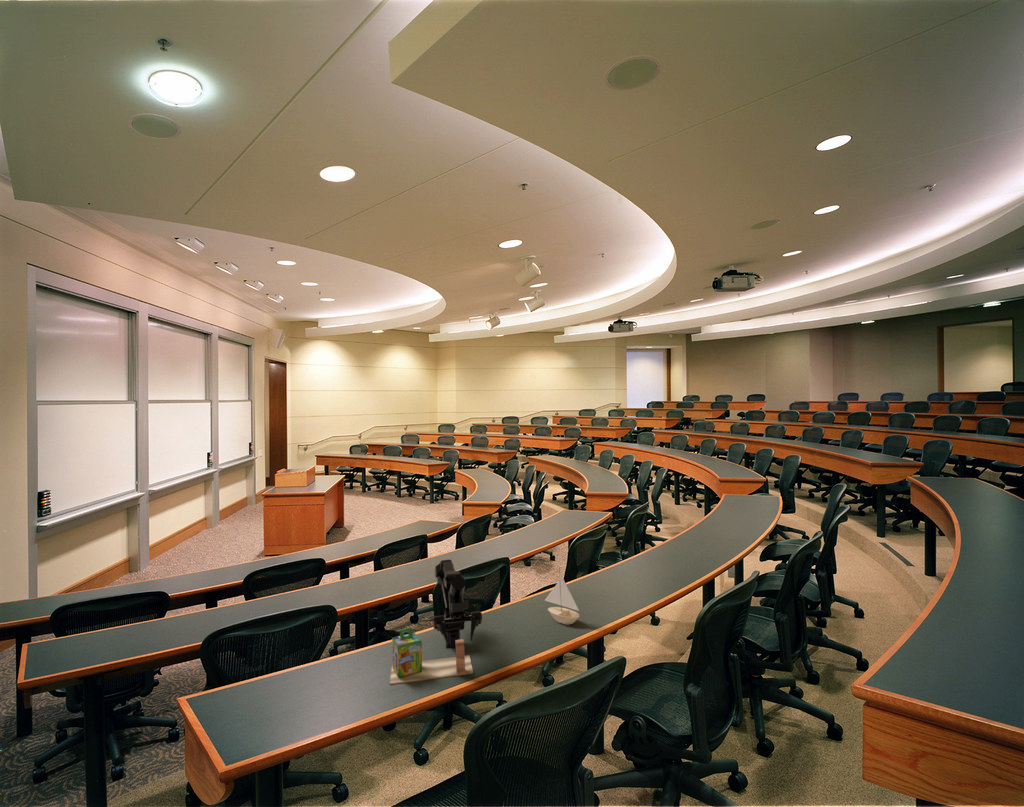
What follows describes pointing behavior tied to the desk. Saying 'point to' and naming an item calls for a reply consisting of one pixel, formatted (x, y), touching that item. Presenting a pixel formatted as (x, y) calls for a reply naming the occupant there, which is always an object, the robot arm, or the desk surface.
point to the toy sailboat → (562, 603)
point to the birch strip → (439, 667)
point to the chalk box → (407, 653)
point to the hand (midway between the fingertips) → (459, 642)
